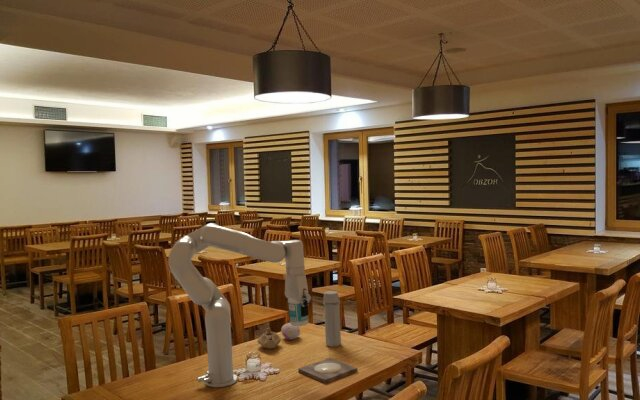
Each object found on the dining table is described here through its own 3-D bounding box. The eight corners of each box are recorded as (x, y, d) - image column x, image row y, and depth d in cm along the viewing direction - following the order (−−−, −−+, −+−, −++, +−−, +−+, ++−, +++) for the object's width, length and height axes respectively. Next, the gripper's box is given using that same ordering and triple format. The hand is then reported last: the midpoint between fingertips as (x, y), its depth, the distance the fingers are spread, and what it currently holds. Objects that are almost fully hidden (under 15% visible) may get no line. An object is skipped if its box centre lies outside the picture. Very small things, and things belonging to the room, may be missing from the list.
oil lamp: (263, 354, 235) (262, 337, 235) (254, 345, 249) (254, 328, 249) (286, 350, 239) (285, 333, 239) (276, 341, 253) (275, 325, 253)
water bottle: (326, 342, 248) (323, 290, 247) (342, 342, 247) (340, 290, 246) (323, 348, 239) (321, 295, 238) (340, 348, 238) (338, 295, 237)
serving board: (325, 383, 199) (325, 379, 198) (298, 372, 212) (298, 367, 212) (357, 371, 209) (357, 367, 209) (330, 361, 222) (329, 357, 222)
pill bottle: (309, 321, 213) (307, 288, 212) (307, 326, 205) (305, 292, 204) (291, 321, 213) (289, 289, 213) (288, 327, 206) (286, 293, 205)
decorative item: (296, 323, 265) (292, 313, 258) (305, 340, 257) (301, 330, 250) (280, 331, 263) (276, 321, 256) (288, 349, 256) (284, 338, 249)
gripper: (275, 270, 212) (278, 312, 213) (301, 274, 199) (304, 319, 200) (290, 267, 217) (293, 308, 218) (316, 271, 204) (319, 315, 205)
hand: (298, 313), depth 209 cm, fingers closed on pill bottle, 7 cm apart
